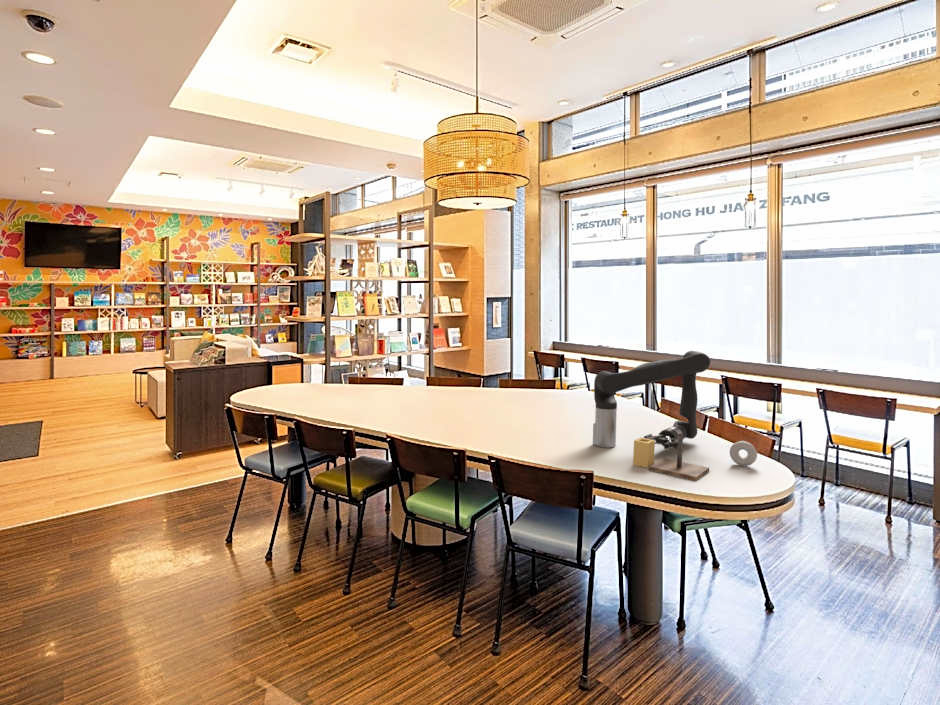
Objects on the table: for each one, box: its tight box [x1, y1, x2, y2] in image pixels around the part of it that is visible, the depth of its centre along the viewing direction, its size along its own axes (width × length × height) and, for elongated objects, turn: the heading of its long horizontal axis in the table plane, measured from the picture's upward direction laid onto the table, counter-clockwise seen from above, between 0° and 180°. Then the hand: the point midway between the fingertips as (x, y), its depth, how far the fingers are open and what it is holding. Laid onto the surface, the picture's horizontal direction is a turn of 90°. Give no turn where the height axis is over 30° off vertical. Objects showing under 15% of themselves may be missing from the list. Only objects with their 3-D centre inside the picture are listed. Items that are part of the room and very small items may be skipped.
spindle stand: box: [648, 433, 710, 481], centre depth 215 cm, size 18×14×15 cm
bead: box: [632, 437, 656, 469], centre depth 223 cm, size 6×6×10 cm
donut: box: [729, 440, 758, 467], centre depth 222 cm, size 10×4×10 cm, turn 53°
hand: (655, 444), depth 231 cm, fingers open, 8 cm apart
